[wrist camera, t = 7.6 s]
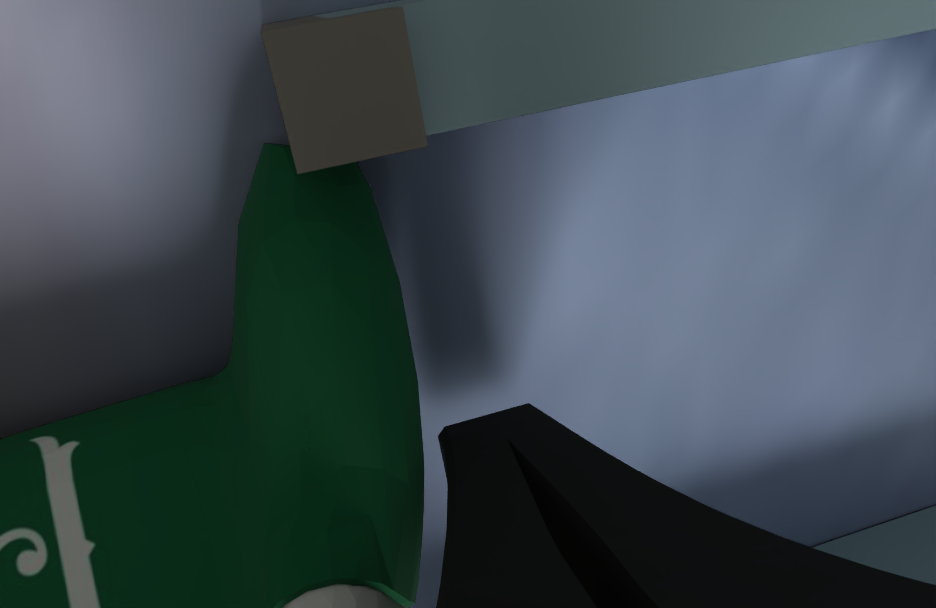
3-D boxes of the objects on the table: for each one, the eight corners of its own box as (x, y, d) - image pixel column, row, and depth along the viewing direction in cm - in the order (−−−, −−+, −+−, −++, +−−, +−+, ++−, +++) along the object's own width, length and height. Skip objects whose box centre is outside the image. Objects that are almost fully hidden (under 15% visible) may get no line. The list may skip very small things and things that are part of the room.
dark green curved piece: (-235, 413, 11) (-229, 883, 9) (-570, 329, 7) (-685, 1085, 5) (372, 236, 12) (495, 609, 10) (342, 92, 9) (524, 621, 7)
